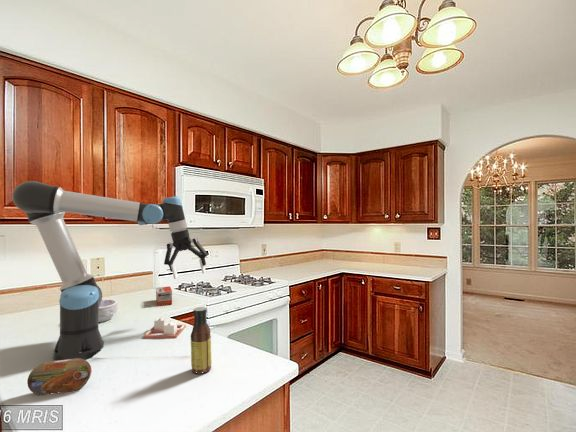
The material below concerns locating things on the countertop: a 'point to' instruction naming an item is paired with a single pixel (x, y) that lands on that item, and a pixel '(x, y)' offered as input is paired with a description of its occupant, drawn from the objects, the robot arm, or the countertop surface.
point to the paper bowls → (107, 310)
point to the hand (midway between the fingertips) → (190, 275)
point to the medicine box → (163, 296)
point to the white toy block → (160, 323)
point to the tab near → (170, 328)
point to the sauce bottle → (200, 342)
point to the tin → (59, 376)
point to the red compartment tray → (148, 336)
